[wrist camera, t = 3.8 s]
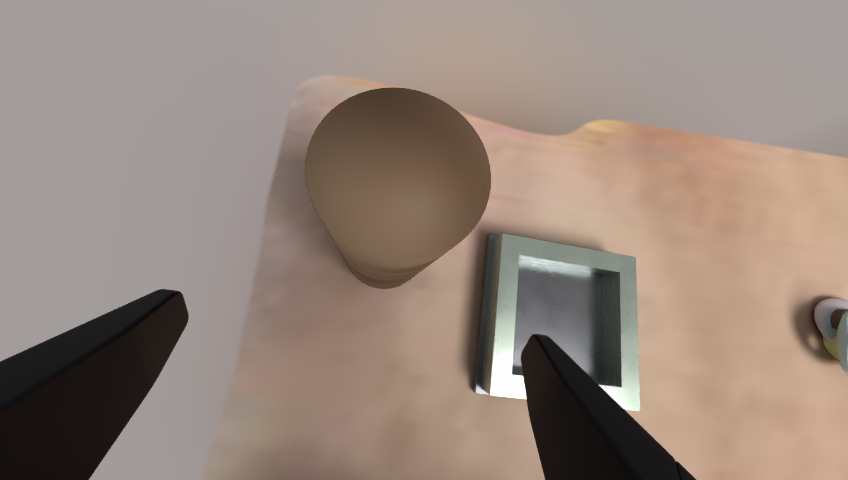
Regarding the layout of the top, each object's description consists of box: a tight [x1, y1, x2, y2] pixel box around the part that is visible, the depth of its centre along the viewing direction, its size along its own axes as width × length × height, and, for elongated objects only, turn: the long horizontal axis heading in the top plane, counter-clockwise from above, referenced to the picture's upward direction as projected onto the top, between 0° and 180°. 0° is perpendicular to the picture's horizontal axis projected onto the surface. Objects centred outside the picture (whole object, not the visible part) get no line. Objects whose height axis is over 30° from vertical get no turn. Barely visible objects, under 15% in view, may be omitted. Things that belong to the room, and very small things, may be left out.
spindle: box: [305, 88, 491, 289], centre depth 14 cm, size 5×5×12 cm
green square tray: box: [473, 233, 640, 411], centre depth 20 cm, size 10×10×2 cm
